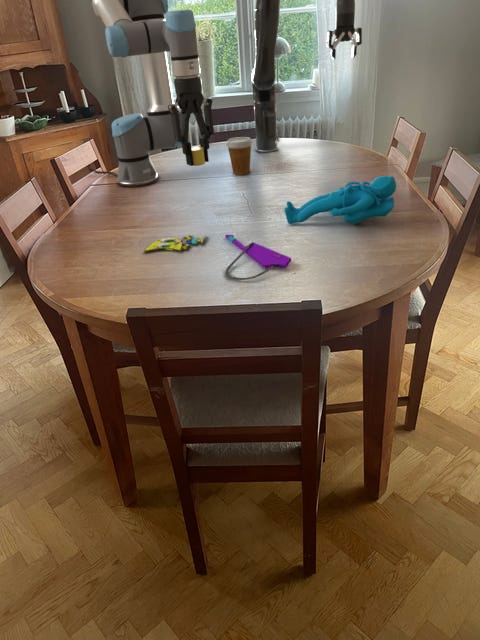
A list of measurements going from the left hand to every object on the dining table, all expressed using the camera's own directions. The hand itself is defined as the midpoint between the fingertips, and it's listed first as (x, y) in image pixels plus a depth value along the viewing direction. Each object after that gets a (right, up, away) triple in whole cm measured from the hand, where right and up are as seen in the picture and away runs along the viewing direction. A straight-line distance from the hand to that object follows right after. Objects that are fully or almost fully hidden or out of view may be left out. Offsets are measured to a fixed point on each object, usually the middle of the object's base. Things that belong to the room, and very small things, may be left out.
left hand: (197, 162), depth 144 cm
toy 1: (-5, -27, -14) cm, 31 cm away
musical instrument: (+14, -33, -25) cm, 44 cm away
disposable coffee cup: (+13, +9, +39) cm, 42 cm away
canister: (0, 0, 0) cm, 0 cm away
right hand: (+56, +61, +54) cm, 99 cm away
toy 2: (+40, -20, -9) cm, 46 cm away
